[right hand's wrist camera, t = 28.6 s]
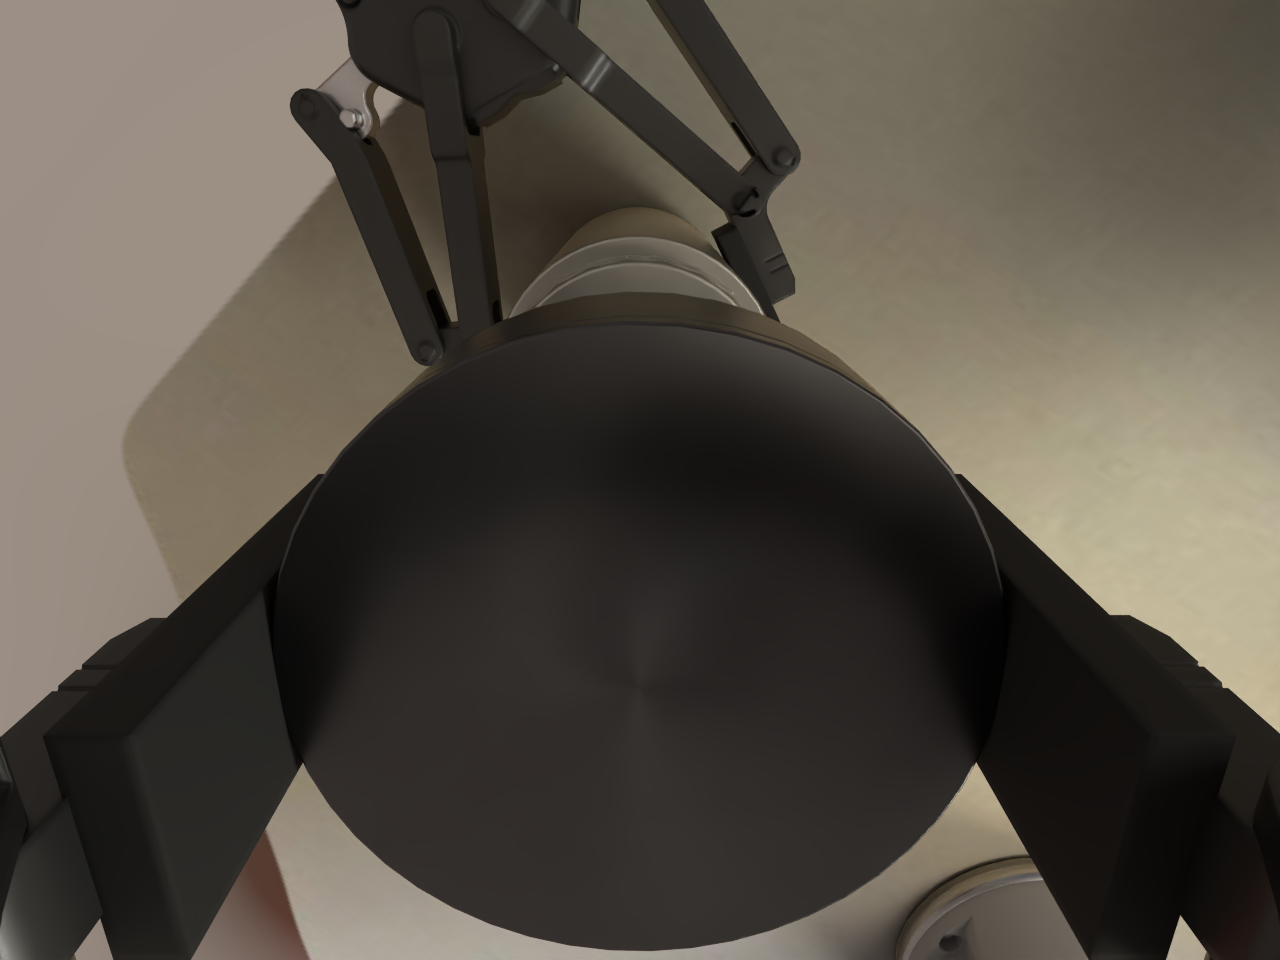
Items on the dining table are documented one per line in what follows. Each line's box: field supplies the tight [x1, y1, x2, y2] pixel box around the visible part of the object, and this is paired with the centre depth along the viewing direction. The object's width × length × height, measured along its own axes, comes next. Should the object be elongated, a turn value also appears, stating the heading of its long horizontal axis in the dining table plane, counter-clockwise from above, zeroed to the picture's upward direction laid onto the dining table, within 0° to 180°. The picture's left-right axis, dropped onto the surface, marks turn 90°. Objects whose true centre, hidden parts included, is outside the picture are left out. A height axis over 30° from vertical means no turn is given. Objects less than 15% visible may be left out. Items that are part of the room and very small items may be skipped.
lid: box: [273, 292, 1007, 951], centre depth 11 cm, size 9×9×2 cm
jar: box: [507, 207, 766, 319], centre depth 29 cm, size 8×8×17 cm
